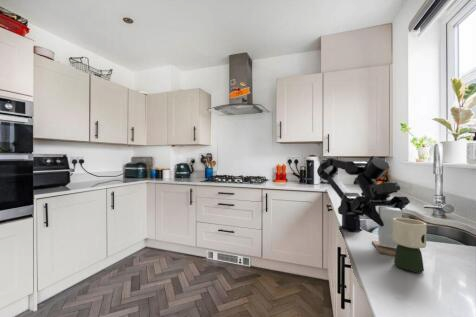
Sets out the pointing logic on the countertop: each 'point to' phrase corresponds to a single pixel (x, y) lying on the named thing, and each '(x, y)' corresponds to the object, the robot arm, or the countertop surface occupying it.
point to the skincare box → (388, 225)
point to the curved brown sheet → (384, 249)
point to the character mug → (409, 243)
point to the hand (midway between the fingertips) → (393, 225)
